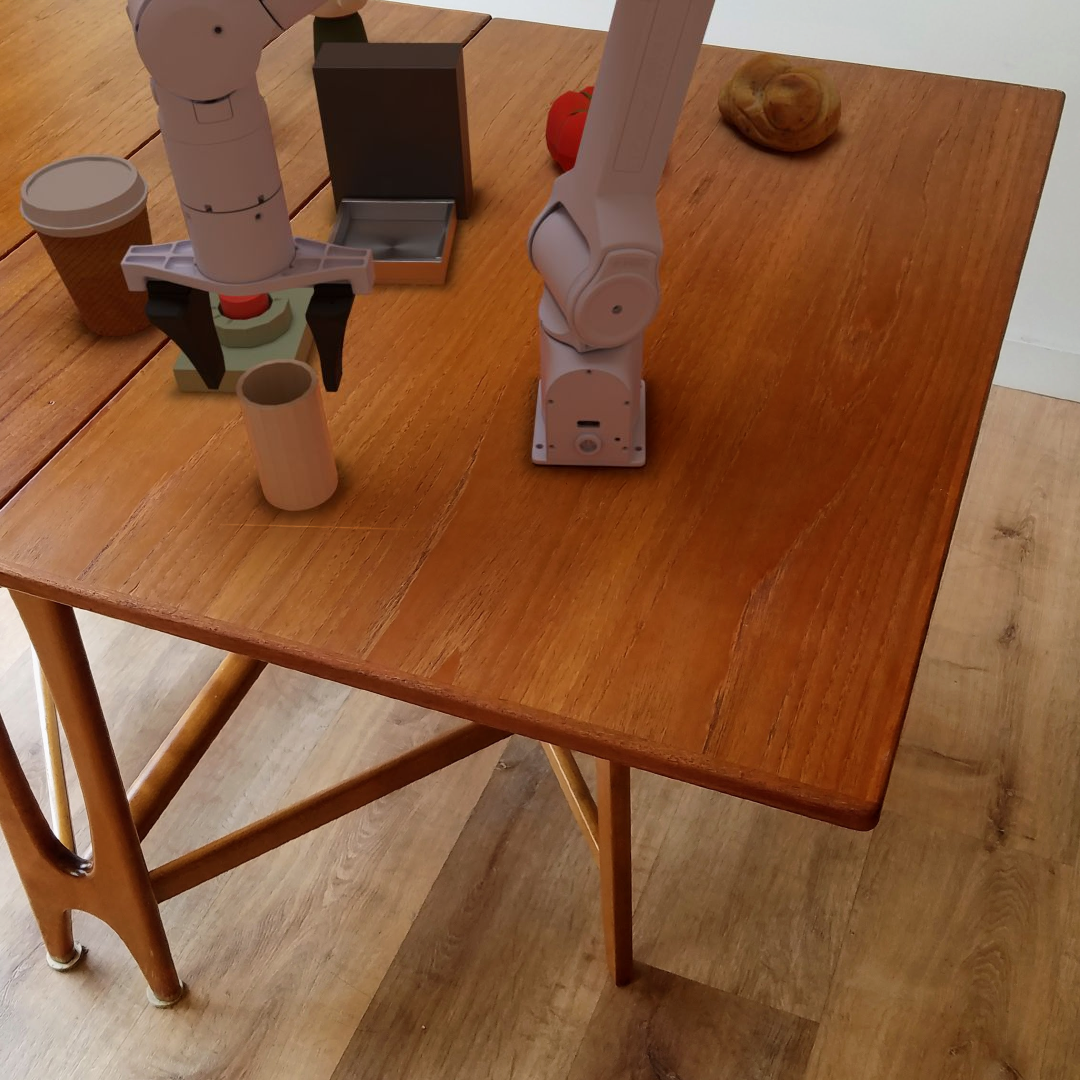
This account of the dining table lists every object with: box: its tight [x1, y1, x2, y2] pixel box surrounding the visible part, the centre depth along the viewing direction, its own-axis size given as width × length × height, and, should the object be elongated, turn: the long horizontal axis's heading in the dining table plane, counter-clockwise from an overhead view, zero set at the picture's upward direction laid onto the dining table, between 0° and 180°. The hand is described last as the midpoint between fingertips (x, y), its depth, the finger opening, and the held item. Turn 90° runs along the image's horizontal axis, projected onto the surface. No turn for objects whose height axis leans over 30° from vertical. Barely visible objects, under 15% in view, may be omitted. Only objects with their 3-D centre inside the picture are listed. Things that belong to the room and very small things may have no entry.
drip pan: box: [326, 198, 458, 286], centre depth 100 cm, size 10×10×2 cm
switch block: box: [172, 288, 314, 394], centre depth 91 cm, size 12×9×4 cm
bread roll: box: [717, 53, 842, 153], centre depth 112 cm, size 13×10×8 cm
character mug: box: [308, 0, 370, 61], centre depth 123 cm, size 11×7×13 cm, turn 23°
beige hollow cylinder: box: [235, 359, 339, 512], centre depth 77 cm, size 5×5×9 cm
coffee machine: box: [311, 42, 474, 221], centre depth 102 cm, size 5×12×14 cm, turn 87°
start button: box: [218, 293, 269, 320], centre depth 89 cm, size 4×4×2 cm
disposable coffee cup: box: [19, 153, 154, 337], centre depth 91 cm, size 10×10×12 cm
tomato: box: [544, 85, 595, 173], centre depth 109 cm, size 10×11×6 cm
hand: (275, 381), depth 74 cm, fingers open, 7 cm apart
